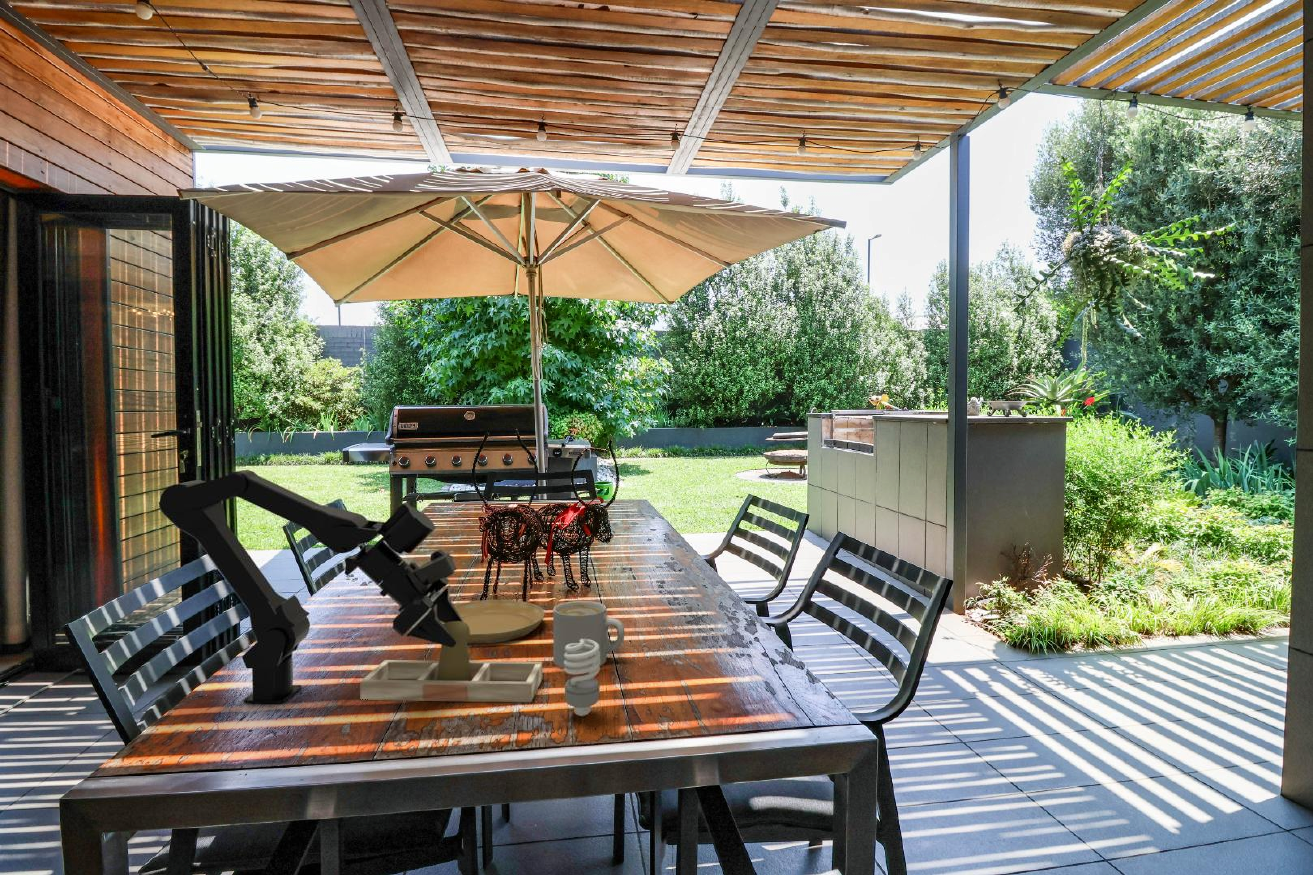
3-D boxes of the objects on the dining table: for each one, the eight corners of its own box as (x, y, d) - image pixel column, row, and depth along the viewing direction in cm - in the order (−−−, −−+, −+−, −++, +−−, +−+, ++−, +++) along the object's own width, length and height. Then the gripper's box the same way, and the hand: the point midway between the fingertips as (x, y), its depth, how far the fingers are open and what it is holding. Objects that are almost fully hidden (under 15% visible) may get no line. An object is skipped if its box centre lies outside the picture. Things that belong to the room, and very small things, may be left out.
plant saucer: (508, 654, 140) (507, 637, 139) (405, 641, 147) (404, 625, 147) (563, 619, 162) (563, 605, 162) (471, 609, 170) (471, 595, 170)
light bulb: (582, 705, 115) (582, 631, 115) (608, 715, 112) (607, 639, 111) (556, 717, 111) (556, 640, 110) (582, 727, 107) (581, 648, 107)
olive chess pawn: (451, 696, 118) (450, 630, 117) (428, 688, 121) (427, 623, 121) (480, 685, 123) (479, 621, 122) (457, 677, 126) (456, 615, 126)
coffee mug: (543, 665, 133) (543, 612, 132) (568, 648, 142) (568, 598, 142) (610, 675, 128) (610, 619, 128) (631, 656, 138) (631, 605, 137)
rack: (530, 703, 116) (530, 684, 116) (359, 700, 117) (359, 682, 117) (542, 678, 126) (542, 661, 126) (385, 676, 127) (384, 659, 127)
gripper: (413, 549, 111) (486, 618, 113) (436, 529, 129) (499, 588, 131) (361, 601, 110) (435, 669, 112) (391, 573, 129) (455, 632, 131)
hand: (459, 636), depth 121 cm, fingers open, 9 cm apart
